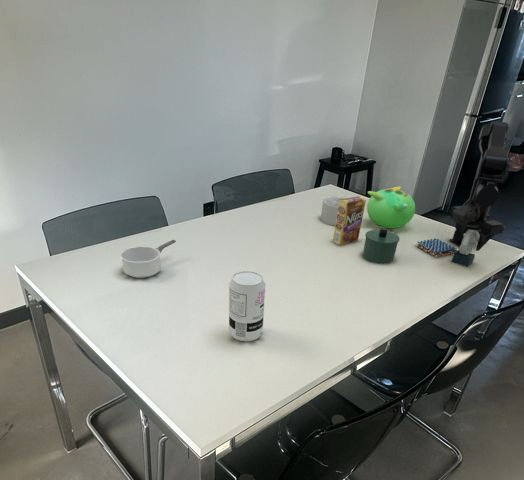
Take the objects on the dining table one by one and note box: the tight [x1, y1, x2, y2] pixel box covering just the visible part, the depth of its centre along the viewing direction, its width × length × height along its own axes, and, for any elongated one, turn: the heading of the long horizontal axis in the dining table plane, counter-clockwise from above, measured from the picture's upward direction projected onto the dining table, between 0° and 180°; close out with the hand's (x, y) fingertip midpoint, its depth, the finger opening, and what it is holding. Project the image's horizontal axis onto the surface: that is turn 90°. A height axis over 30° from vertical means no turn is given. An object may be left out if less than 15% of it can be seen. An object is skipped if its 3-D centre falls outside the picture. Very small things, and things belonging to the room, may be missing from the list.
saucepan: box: [119, 239, 177, 279], centre depth 138 cm, size 12×20×6 cm, turn 145°
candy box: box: [332, 195, 367, 246], centre depth 159 cm, size 9×4×15 cm, turn 123°
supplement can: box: [228, 270, 266, 342], centre depth 108 cm, size 8×8×15 cm
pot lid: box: [364, 226, 401, 244], centre depth 149 cm, size 11×11×4 cm
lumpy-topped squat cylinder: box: [320, 195, 347, 227], centre depth 179 cm, size 10×13×9 cm
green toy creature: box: [366, 186, 416, 229], centre depth 175 cm, size 18×17×15 cm
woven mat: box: [416, 237, 458, 258], centre depth 161 cm, size 10×11×2 cm
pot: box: [362, 237, 399, 265], centre depth 152 cm, size 10×10×7 cm
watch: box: [451, 230, 480, 268], centre depth 151 cm, size 6×8×11 cm
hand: (467, 245), depth 150 cm, fingers open, 9 cm apart
